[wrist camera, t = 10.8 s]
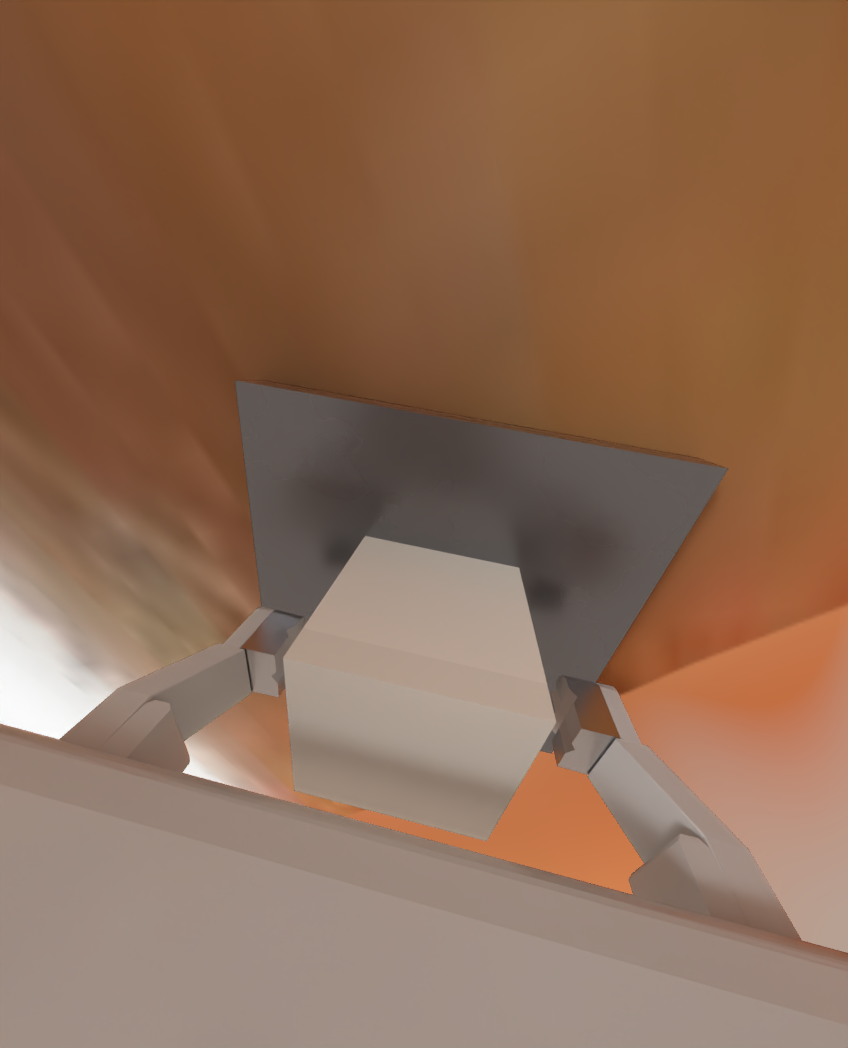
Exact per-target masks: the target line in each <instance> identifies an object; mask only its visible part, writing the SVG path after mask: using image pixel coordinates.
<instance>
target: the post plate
mask: <svg viewBox="0 0 848 1048" xmlns="http://www.w3.org/2000/svg"><path fill="white" fill-rule="evenodd" d="M235 385H236V393H237V402H238V410H239V419H240V427H241V436H242V444H243V453H244V461H245V470H246V478H247V487H248V495H249V504H250V512H251V521H252V529H253V538H254V546H255V555H256V563H257V572H258V580H259V589H260V597H261V606H263V607H267V608H271V609H275V610H280V611H284V612H288V613H291V614H295V615H299V616H303V617H306V618H307V622H308V620H309V619H310V617H311V616H312V614H313V613H314V611H315V610H316V608H317V607H318V605H319V604H320V602H321V601H322V599H323V598H324V596H325V595H326V593H327V592H328V590H329V589H330V587H331V586H332V584H333V583H334V581H335V580H336V578H337V577H338V576H339V574H340V573H341V571H342V570H343V568H344V567H345V565H346V564H347V562H348V561H349V559H350V558H351V556H352V555H353V553H354V552H355V550H356V549H357V547H358V546H359V544H360V543H361V541H362V540H363V538H364V537H365V536H368V537H373V538H378V539H383V540H388V541H392V542H397V543H402V544H407V545H412V546H417V547H421V548H426V549H431V550H436V551H441V552H446V553H451V554H455V555H460V556H465V557H470V558H475V559H480V560H484V561H489V562H494V563H499V564H504V565H509V566H513V567H518V568H519V569H520V574H521V578H522V582H523V586H524V590H525V594H526V599H527V603H528V607H529V611H530V615H531V619H532V623H533V628H534V632H535V636H536V640H537V644H538V648H539V652H540V657H541V661H542V665H543V669H544V673H545V677H546V681H547V686H548V690H549V694H550V692H552V691H554V690H556V689H557V686H556V681H557V679H558V677H560V676H561V675H564V676H569V677H573V678H578V679H583V680H587V681H592V682H594V683H596V681H597V679H598V678H599V676H600V675H601V673H602V671H603V670H604V668H605V667H606V665H607V663H608V662H609V660H610V659H611V657H612V655H613V654H614V652H615V650H616V649H617V647H618V646H619V644H620V642H621V641H622V639H623V638H624V636H625V634H626V633H627V631H628V630H629V628H630V626H631V625H632V623H633V621H634V620H635V618H636V617H637V615H638V613H639V612H640V610H641V609H642V607H643V605H644V604H645V602H646V601H647V599H648V597H649V596H650V594H651V593H652V591H653V589H654V588H655V586H656V584H657V583H658V581H659V580H660V578H661V576H662V575H663V573H664V572H665V570H666V568H667V567H668V565H669V564H670V562H671V560H672V559H673V557H674V555H675V554H676V552H677V551H678V549H679V547H680V546H681V544H682V543H683V541H684V539H685V538H686V536H687V535H688V533H689V531H690V530H691V528H692V527H693V525H694V523H695V522H696V520H697V518H698V517H699V515H700V514H701V512H702V510H703V509H704V507H705V506H706V504H707V502H708V501H709V499H710V498H711V496H712V494H713V493H714V491H715V489H716V488H717V486H718V485H719V483H720V481H721V480H722V478H723V477H724V475H725V473H726V472H727V470H728V469H727V468H725V467H722V466H719V465H716V464H714V463H711V462H708V461H705V460H703V459H700V458H695V457H690V456H684V455H679V454H673V453H667V452H662V451H656V450H651V449H645V448H639V447H634V446H628V445H623V444H617V443H611V442H606V441H600V440H595V439H589V438H583V437H578V436H572V435H567V434H561V433H555V432H550V431H544V430H538V429H533V428H527V427H522V426H516V425H510V424H505V423H499V422H494V421H488V420H482V419H477V418H471V417H466V416H460V415H454V414H449V413H443V412H438V411H432V410H426V409H421V408H415V407H410V406H404V405H398V404H393V403H387V402H382V401H376V400H370V399H365V398H359V397H353V396H348V395H342V394H337V393H331V392H325V391H320V390H314V389H309V388H303V387H297V386H292V385H286V384H281V383H275V382H269V381H264V380H235ZM284 689H286V687H285V688H284ZM554 736H555V733H554V732H553V731H551V732H550V734H549V736H548V737H547V739H546V741H545V743H544V744H543V746H542V748H541V749H540V751H544V752H547V753H552V752H553V750H554V749H553V745H552V739H553V738H554Z"/></svg>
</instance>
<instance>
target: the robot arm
mask: <svg viewBox="0 0 848 1048" xmlns="http://www.w3.org/2000/svg"><path fill="white" fill-rule="evenodd" d="M306 623H307V618H306V617H303V616H299V615H295V614H291V613H288V612H284V611H280V610H275V609H271V608H267V607H263V606H261V607H259V608H257V609H256V610H255V611H254V612H253V613H252V614H251V615H250V616H249V617H248V618H247V619H246V620H245V621H244V622H243V623H242V624H241V625H240V626H239V628H238V629H237V630H236V631H235V632H234V633H233V634H232V635H231V636H230V637H229V638H228V639H227V640H226V641H225V642H224V643H223V644H219V643H218V644H215V645H213V646H211V647H209V648H206V649H204V650H202V651H200V652H197V653H195V654H193V655H191V656H189V657H186V658H184V659H182V660H180V661H177V662H175V663H173V664H171V665H169V666H166V667H164V668H162V669H160V670H157V671H155V672H153V673H151V674H149V675H146V676H144V677H142V678H140V679H137V680H135V681H133V682H131V683H128V684H126V685H124V686H122V687H120V688H118V689H117V690H115V691H114V692H113V693H112V694H111V695H110V696H109V697H107V698H106V699H105V700H104V701H103V702H102V703H101V704H99V705H98V706H97V707H96V708H95V709H94V710H92V711H91V712H90V713H89V714H88V715H87V716H86V717H84V718H83V719H82V720H81V721H80V722H79V723H78V724H76V725H75V726H74V727H73V728H72V729H71V730H69V731H68V732H67V733H66V734H65V735H64V736H63V737H61V738H60V739H55V738H52V737H48V736H44V735H40V734H37V733H33V732H29V731H26V730H22V729H18V728H14V727H11V726H7V725H3V724H0V1048H848V953H845V952H842V951H838V950H834V949H831V948H827V947H823V946H820V945H816V944H812V943H808V942H805V941H802V940H801V938H800V937H799V935H798V933H797V931H796V930H795V928H794V927H793V924H792V923H791V921H790V920H789V918H788V916H787V914H786V912H785V911H784V909H783V907H782V906H781V904H780V902H779V900H778V899H777V897H776V895H775V894H774V892H773V890H772V888H771V887H770V885H769V883H768V882H767V880H766V878H765V876H764V875H763V873H762V871H761V870H760V868H759V866H758V864H757V863H756V861H755V859H754V857H753V856H752V854H751V852H750V851H749V849H748V848H747V847H746V846H745V845H744V844H743V843H742V842H741V841H740V840H739V839H738V838H737V837H736V836H735V835H734V834H733V833H732V832H731V831H730V830H729V829H728V828H727V827H726V826H725V825H724V824H723V823H722V821H720V820H719V819H718V817H717V816H716V815H714V814H713V812H712V811H711V810H710V809H709V808H708V807H707V806H706V805H705V804H704V803H703V802H702V801H701V800H700V799H699V798H698V797H697V796H696V795H695V794H694V793H693V792H692V791H691V790H690V789H689V788H688V787H687V786H686V785H685V784H684V783H683V782H682V781H681V779H679V777H678V776H677V775H676V774H675V773H674V772H673V771H672V770H671V769H670V768H669V767H668V766H667V765H666V764H665V763H664V762H663V761H662V760H661V759H660V758H659V757H658V756H657V755H656V754H655V753H654V752H653V751H652V750H651V749H650V748H649V747H648V746H647V745H643V744H642V743H641V741H640V739H639V737H638V735H637V732H636V730H635V728H634V726H633V724H632V722H631V720H630V717H629V715H628V713H627V711H626V709H625V707H624V705H623V702H622V700H621V698H620V696H619V694H618V692H617V690H616V689H615V688H614V687H613V686H609V685H605V684H600V683H594V682H592V681H587V680H583V679H578V678H573V677H569V676H564V675H561V676H560V677H558V679H557V681H556V686H557V689H556V690H554V691H552V692H550V698H551V702H552V706H553V710H554V715H555V719H556V724H555V725H554V727H553V729H552V731H553V732H554V733H555V736H554V738H553V739H552V745H553V749H554V753H555V758H556V763H557V766H559V767H563V768H566V769H569V770H573V771H576V772H580V773H584V774H588V778H589V779H590V781H591V782H592V784H593V786H594V787H595V789H596V790H597V792H598V793H599V795H600V796H601V798H602V799H603V801H604V803H605V804H606V806H607V807H608V808H609V810H610V812H611V813H612V815H613V816H614V818H615V819H616V821H617V822H618V824H619V825H620V827H621V828H622V830H623V832H624V833H625V835H626V836H627V838H628V839H629V841H630V842H631V844H632V845H633V847H634V848H635V850H636V851H637V853H638V855H639V856H640V858H641V859H642V861H643V862H644V864H643V865H642V866H641V867H640V868H638V869H637V870H636V871H635V872H633V873H632V875H631V876H630V878H629V882H630V886H631V889H632V893H633V895H632V894H628V893H624V892H620V891H617V890H613V889H609V888H605V887H602V886H598V885H595V884H591V883H587V882H583V881H580V880H576V879H572V878H569V877H565V876H561V875H557V874H554V873H550V872H546V871H543V870H539V869H536V868H532V867H528V866H525V865H520V864H517V863H513V862H510V861H506V860H502V859H499V858H495V857H491V856H488V855H484V854H480V853H477V852H473V851H469V850H465V849H462V848H458V847H454V846H450V845H447V844H443V843H440V842H436V841H432V840H428V839H425V838H421V837H417V836H414V835H410V834H406V833H403V832H399V831H395V830H392V829H388V828H384V827H381V826H377V825H373V824H369V823H366V822H362V821H358V820H355V819H351V818H347V817H344V816H340V815H336V814H333V813H329V812H325V811H322V810H318V809H314V808H310V807H307V806H303V805H299V804H296V803H292V802H288V801H285V800H281V799H277V798H273V797H270V796H266V795H262V794H259V793H255V792H251V791H248V790H244V789H240V788H236V787H233V786H229V785H225V784H222V783H218V782H214V781H211V780H207V779H203V778H199V777H196V776H192V775H188V774H185V773H182V772H183V771H184V769H185V768H186V767H187V765H188V764H189V762H190V760H189V754H188V751H187V748H186V746H185V743H184V741H185V740H186V739H188V738H189V737H190V736H192V735H193V734H195V733H196V732H197V731H199V730H200V729H202V728H203V727H205V726H206V725H207V724H209V723H210V722H212V721H213V720H214V719H216V718H217V717H219V716H220V715H222V714H223V713H224V712H226V711H227V710H229V709H230V708H231V707H233V706H234V705H236V704H237V703H238V702H240V701H241V700H243V699H244V698H246V697H247V696H248V695H250V694H251V693H252V692H257V693H261V694H266V695H271V696H275V697H279V696H280V695H281V693H282V691H283V690H284V688H285V675H284V663H283V657H284V656H285V654H286V653H287V651H288V650H289V648H290V647H291V645H292V644H293V642H294V641H295V639H296V638H297V636H298V635H299V633H300V632H301V630H302V629H303V627H304V626H305V624H306ZM251 691H252V692H251Z"/></svg>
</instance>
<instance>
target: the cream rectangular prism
mask: <svg viewBox="0 0 848 1048" xmlns="http://www.w3.org/2000/svg"><path fill="white" fill-rule="evenodd" d="M283 663H284V675H285V687H286V699H287V711H288V723H289V735H290V746H291V758H292V770H293V782H294V791H297V792H301V793H305V794H309V795H313V796H316V797H320V798H324V799H328V800H332V801H336V802H339V803H343V804H347V805H351V806H355V807H358V808H362V809H366V810H370V811H374V812H378V813H382V814H385V815H389V816H393V817H396V818H400V819H404V820H408V821H412V822H416V823H419V824H423V825H427V826H431V827H434V828H438V829H442V830H446V831H450V832H454V833H457V834H461V835H465V836H469V837H472V838H477V839H480V840H484V841H487V840H488V838H489V837H490V835H491V833H492V831H493V830H494V828H495V826H496V825H497V823H498V821H499V819H500V818H501V816H502V814H503V812H504V811H505V809H506V808H507V806H508V804H509V802H510V801H511V799H512V797H513V795H514V794H515V792H516V790H517V789H518V787H519V785H520V783H521V782H522V780H523V778H524V777H525V775H526V773H527V772H528V770H529V768H530V766H531V765H532V763H533V761H534V760H535V758H536V756H537V755H538V753H539V751H540V749H541V748H542V746H543V744H544V743H545V741H546V739H547V737H548V736H549V734H550V732H551V731H552V729H553V727H554V725H555V724H556V719H555V715H554V710H553V706H552V702H551V698H550V694H549V690H548V686H547V681H546V677H545V673H544V669H543V665H542V661H541V657H540V652H539V648H538V644H537V640H536V636H535V632H534V628H533V623H532V619H531V615H530V611H529V607H528V603H527V599H526V594H525V590H524V586H523V582H522V578H521V574H520V569H519V568H518V567H513V566H509V565H504V564H499V563H494V562H489V561H484V560H480V559H475V558H470V557H465V556H460V555H455V554H451V553H446V552H441V551H436V550H431V549H426V548H421V547H417V546H412V545H407V544H402V543H397V542H392V541H388V540H383V539H378V538H373V537H368V536H365V537H364V538H363V540H362V541H361V543H360V544H359V546H358V547H357V549H356V550H355V552H354V553H353V555H352V556H351V558H350V559H349V561H348V562H347V564H346V565H345V567H344V568H343V570H342V571H341V573H340V574H339V576H338V577H337V578H336V580H335V581H334V583H333V584H332V586H331V587H330V589H329V590H328V592H327V593H326V595H325V596H324V598H323V599H322V601H321V602H320V604H319V605H318V607H317V608H316V610H315V611H314V613H313V614H312V616H311V617H310V619H309V620H308V622H307V623H306V624H305V626H304V627H303V629H302V630H301V632H300V633H299V635H298V636H297V638H296V639H295V641H294V642H293V644H292V645H291V647H290V648H289V650H288V651H287V653H286V654H285V656H284V657H283Z"/></svg>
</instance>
